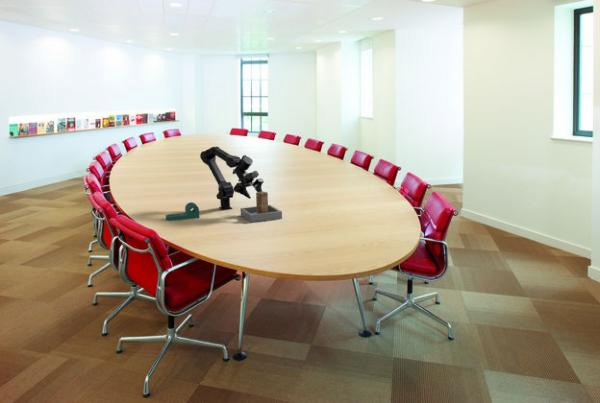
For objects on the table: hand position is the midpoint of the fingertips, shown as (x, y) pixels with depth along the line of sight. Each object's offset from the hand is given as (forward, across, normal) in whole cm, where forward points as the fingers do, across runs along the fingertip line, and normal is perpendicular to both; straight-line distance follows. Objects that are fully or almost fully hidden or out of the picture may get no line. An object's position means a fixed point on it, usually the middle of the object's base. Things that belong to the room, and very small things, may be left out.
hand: (256, 197), depth 270 cm
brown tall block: (+10, 0, +4) cm, 11 cm away
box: (+10, 0, +5) cm, 11 cm away
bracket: (-12, -30, +29) cm, 43 cm away
